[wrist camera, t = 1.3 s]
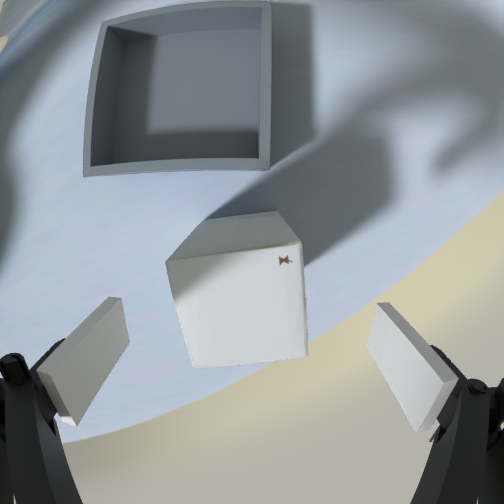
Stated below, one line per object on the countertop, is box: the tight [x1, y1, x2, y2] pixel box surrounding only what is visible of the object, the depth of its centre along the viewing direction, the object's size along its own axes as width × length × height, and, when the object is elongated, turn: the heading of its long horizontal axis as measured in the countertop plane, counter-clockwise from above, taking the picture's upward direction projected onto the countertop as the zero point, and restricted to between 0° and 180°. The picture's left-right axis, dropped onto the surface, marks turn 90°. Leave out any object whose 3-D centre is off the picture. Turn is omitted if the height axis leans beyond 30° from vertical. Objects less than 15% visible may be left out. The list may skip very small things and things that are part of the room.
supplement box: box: [165, 211, 308, 368], centre depth 21 cm, size 7×7×13 cm
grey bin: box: [83, 1, 272, 177], centre depth 20 cm, size 16×16×5 cm
